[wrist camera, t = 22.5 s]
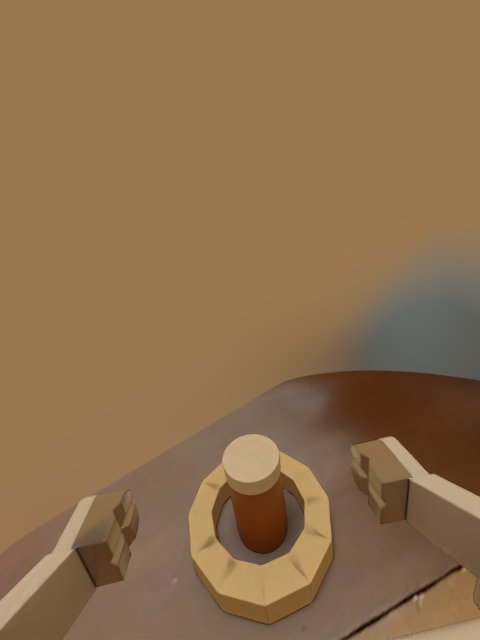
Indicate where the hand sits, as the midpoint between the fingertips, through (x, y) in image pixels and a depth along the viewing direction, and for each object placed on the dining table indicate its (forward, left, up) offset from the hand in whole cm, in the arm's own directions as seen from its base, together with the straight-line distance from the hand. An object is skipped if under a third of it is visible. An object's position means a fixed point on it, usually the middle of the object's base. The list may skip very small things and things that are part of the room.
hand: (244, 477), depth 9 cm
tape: (-11, +2, -19) cm, 22 cm away
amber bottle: (-11, +2, -19) cm, 22 cm away
